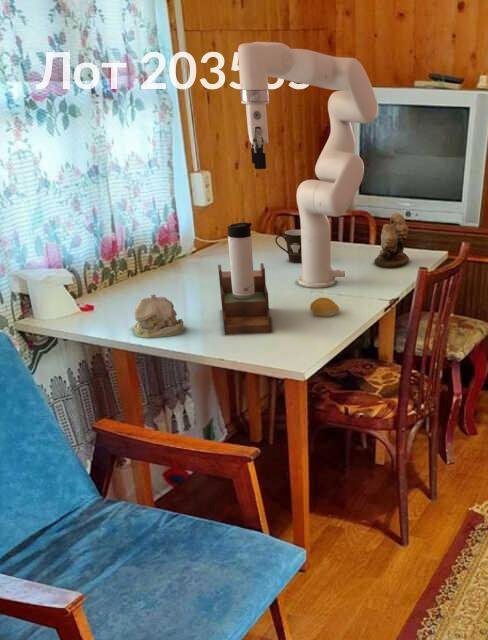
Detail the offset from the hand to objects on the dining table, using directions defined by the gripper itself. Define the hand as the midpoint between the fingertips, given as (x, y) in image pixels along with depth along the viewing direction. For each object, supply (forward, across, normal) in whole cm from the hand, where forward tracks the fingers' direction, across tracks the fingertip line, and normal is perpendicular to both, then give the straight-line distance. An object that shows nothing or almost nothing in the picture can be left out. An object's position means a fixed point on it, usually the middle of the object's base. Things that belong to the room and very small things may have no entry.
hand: (258, 166), depth 210 cm
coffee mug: (+39, +45, -14) cm, 61 cm away
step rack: (+38, -20, +8) cm, 43 cm away
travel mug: (+31, -19, +8) cm, 37 cm away
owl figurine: (+39, +38, -49) cm, 73 cm away
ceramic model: (+38, -24, +32) cm, 55 cm away
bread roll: (+38, -15, -16) cm, 44 cm away
